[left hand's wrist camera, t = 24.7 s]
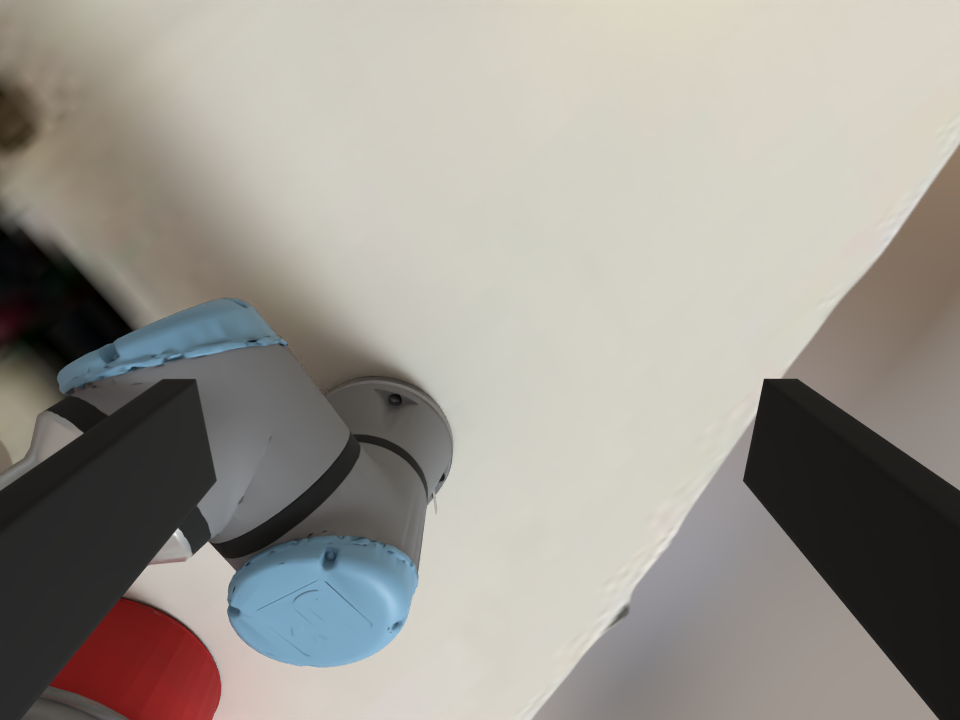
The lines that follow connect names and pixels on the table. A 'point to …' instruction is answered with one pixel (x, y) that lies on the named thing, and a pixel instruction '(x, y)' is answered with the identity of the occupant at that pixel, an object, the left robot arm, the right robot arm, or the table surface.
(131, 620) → the bucket
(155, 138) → the table surface
